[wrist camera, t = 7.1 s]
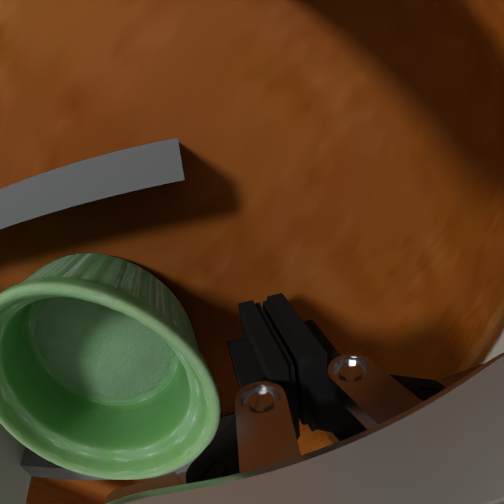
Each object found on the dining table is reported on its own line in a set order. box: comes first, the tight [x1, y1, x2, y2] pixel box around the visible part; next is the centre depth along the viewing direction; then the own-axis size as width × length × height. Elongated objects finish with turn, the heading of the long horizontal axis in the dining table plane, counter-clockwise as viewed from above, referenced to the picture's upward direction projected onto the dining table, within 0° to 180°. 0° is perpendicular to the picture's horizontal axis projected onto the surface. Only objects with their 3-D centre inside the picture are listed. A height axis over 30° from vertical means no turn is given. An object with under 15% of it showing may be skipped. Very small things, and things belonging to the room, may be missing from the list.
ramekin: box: [0, 253, 221, 480], centre depth 10 cm, size 9×9×4 cm
